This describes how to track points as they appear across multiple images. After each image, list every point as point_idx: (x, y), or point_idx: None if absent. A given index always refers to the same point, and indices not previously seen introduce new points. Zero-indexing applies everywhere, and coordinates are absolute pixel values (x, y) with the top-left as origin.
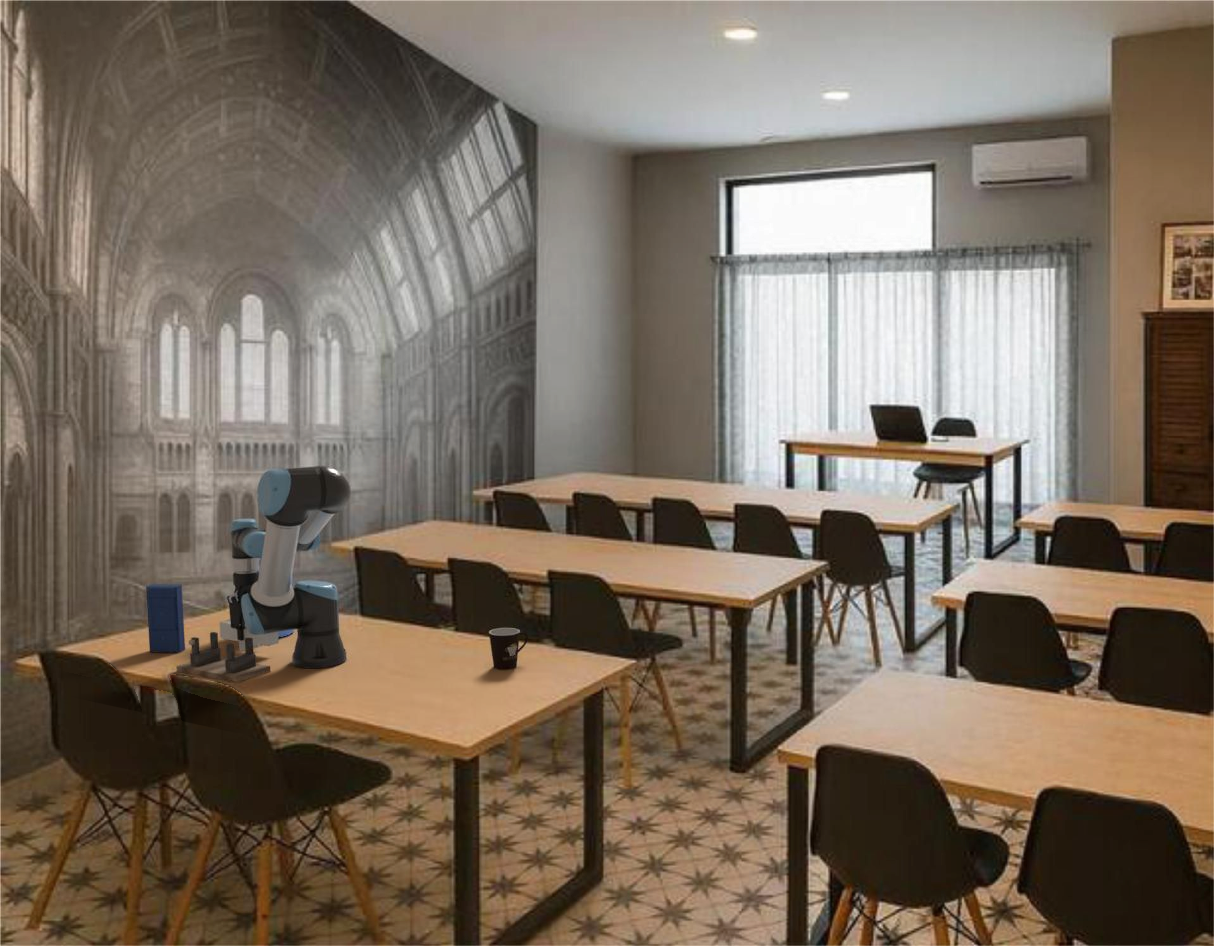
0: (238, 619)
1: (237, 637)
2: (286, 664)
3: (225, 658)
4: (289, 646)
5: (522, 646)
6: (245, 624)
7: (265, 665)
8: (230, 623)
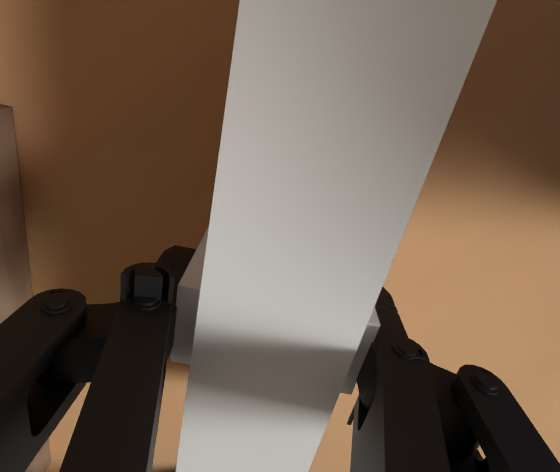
0: (12, 467)
1: (160, 257)
2: (157, 465)
3: (3, 252)
4: (449, 354)
5: None
6: (248, 345)
7: (33, 467)
8: (233, 132)
